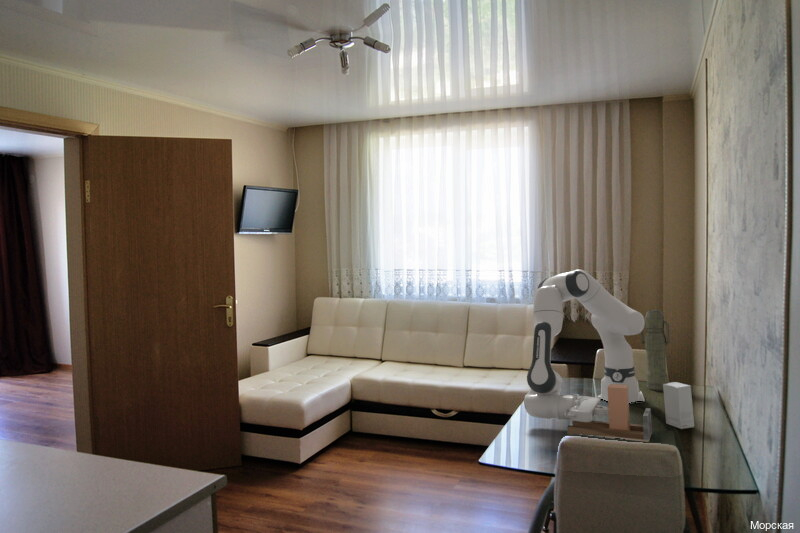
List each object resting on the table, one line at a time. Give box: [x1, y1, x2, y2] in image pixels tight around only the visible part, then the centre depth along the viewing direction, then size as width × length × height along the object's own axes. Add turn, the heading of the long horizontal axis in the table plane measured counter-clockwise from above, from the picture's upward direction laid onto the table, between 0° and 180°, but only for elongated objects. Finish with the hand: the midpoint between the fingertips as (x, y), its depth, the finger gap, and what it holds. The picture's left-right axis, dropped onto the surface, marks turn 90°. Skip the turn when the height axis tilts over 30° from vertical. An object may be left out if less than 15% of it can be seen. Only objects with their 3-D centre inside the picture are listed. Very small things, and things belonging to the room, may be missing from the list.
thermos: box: [640, 309, 671, 392], centre depth 266 cm, size 9×12×35 cm
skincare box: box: [662, 381, 695, 430], centre depth 213 cm, size 8×6×15 cm
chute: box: [566, 407, 653, 443], centre depth 208 cm, size 10×26×9 cm, turn 62°
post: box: [607, 384, 631, 431], centre depth 206 cm, size 5×6×16 cm
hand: (609, 411), depth 207 cm, fingers closed, pressing on post
